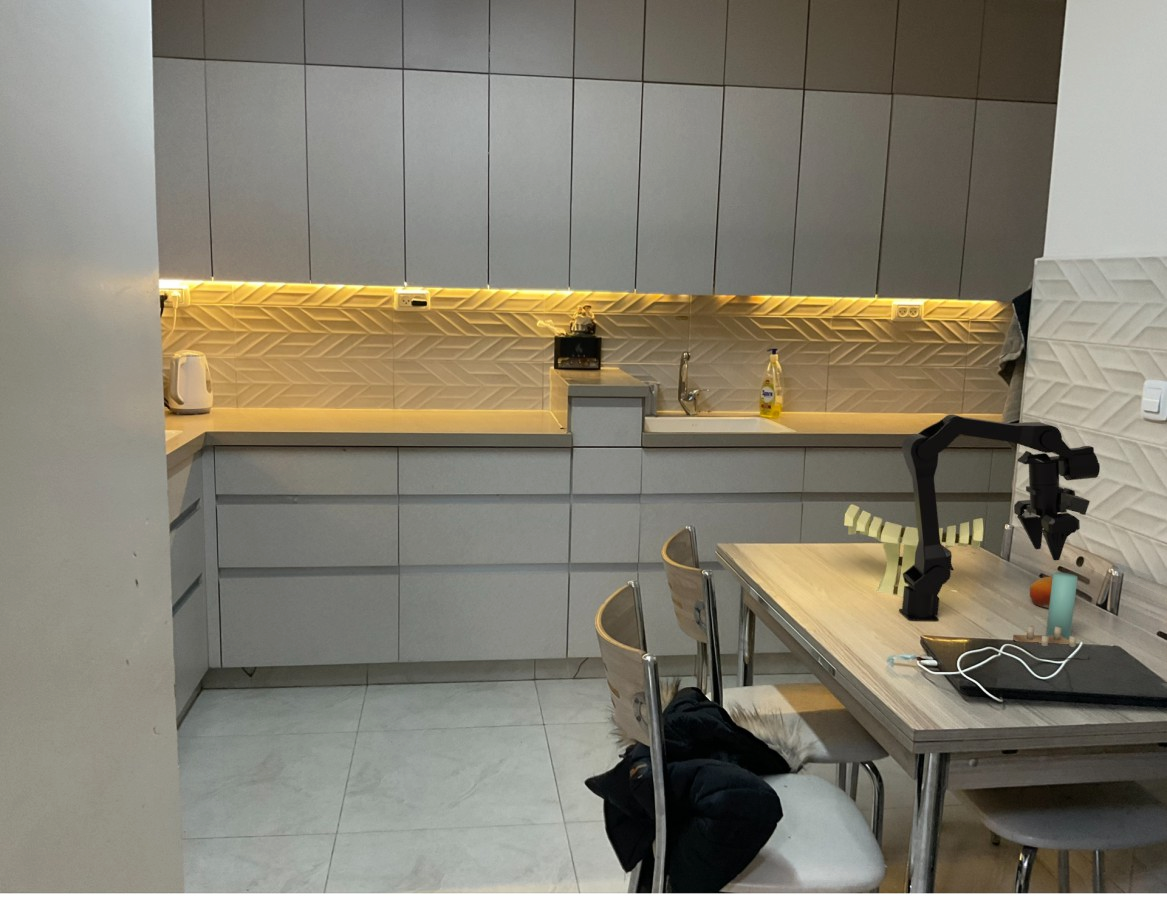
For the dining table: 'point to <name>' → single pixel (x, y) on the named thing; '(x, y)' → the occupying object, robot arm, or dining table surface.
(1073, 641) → the base
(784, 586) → the dining table surface
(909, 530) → the slatted curved stool
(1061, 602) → the post
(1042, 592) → the fruit
